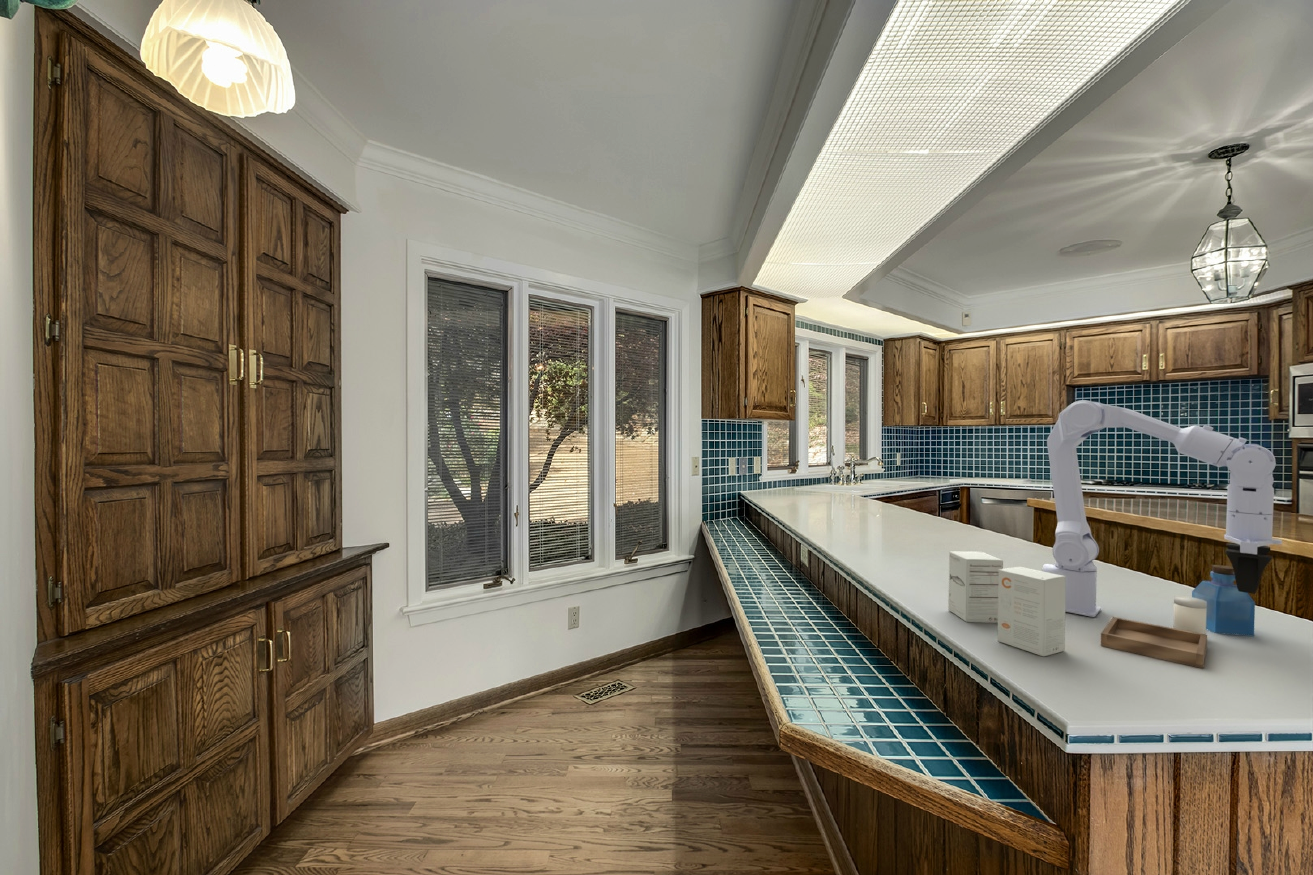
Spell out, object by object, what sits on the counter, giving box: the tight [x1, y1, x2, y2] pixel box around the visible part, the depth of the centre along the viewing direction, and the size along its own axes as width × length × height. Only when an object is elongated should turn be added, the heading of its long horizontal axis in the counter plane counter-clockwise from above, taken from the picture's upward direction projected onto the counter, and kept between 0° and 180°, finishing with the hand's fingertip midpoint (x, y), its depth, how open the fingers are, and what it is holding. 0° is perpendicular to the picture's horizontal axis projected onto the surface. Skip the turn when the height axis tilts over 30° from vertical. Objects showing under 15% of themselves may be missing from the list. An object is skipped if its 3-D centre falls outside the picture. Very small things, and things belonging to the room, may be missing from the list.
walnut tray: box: [1100, 616, 1208, 669], centre depth 100 cm, size 13×13×2 cm
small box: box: [997, 566, 1066, 657], centre depth 100 cm, size 8×6×13 cm
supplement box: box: [947, 550, 1004, 624], centre depth 115 cm, size 7×7×13 cm
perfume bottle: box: [1191, 564, 1256, 637], centre depth 110 cm, size 6×6×12 cm
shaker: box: [1172, 595, 1207, 635], centre depth 105 cm, size 4×4×7 cm
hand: (1246, 588), depth 102 cm, fingers open, 7 cm apart
